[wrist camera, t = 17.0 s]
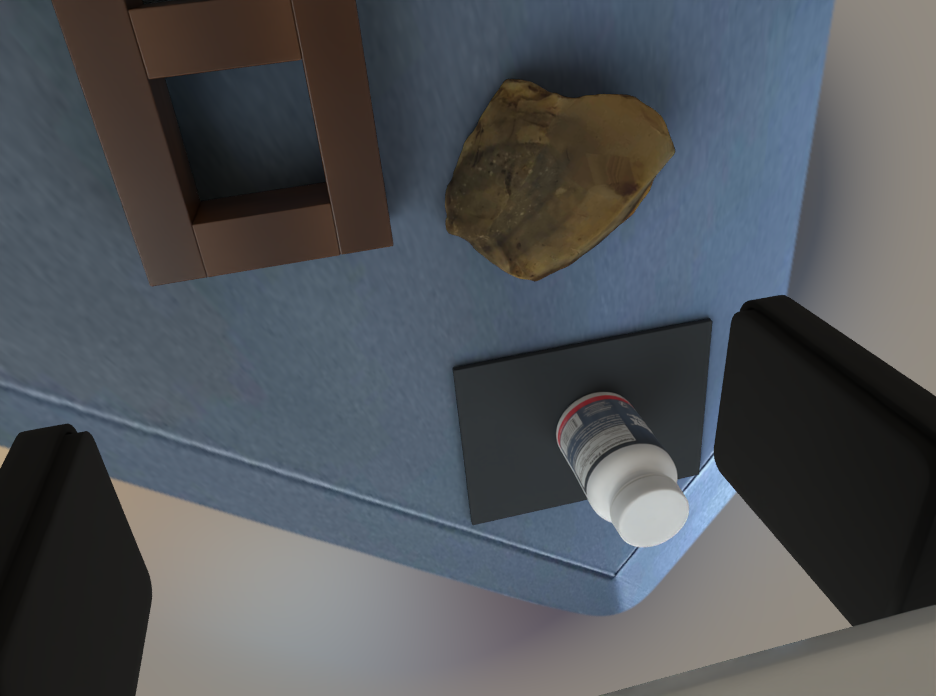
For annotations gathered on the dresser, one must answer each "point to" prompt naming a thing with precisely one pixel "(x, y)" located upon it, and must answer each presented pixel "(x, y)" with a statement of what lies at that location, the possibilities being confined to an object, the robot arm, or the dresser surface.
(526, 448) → the mat
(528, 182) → the decorative stone
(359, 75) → the stand
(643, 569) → the dresser surface
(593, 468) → the pill bottle
